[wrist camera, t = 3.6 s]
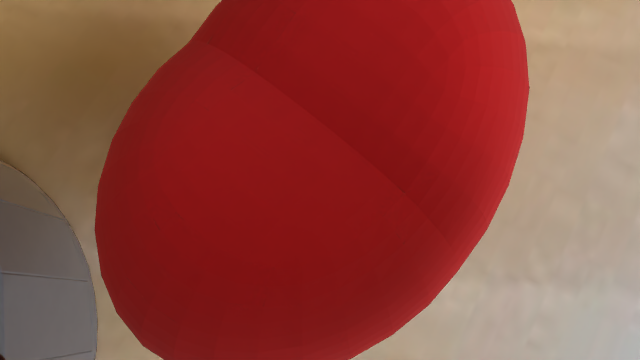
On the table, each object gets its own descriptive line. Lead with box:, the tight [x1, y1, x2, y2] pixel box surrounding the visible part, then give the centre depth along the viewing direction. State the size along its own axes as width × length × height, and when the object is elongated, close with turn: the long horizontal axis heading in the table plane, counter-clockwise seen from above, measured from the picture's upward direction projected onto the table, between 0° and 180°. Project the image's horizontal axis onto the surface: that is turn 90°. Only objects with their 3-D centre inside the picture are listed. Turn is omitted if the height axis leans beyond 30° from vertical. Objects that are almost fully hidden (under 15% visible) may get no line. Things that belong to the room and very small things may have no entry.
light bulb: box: [95, 0, 529, 360], centre depth 14 cm, size 9×7×10 cm
